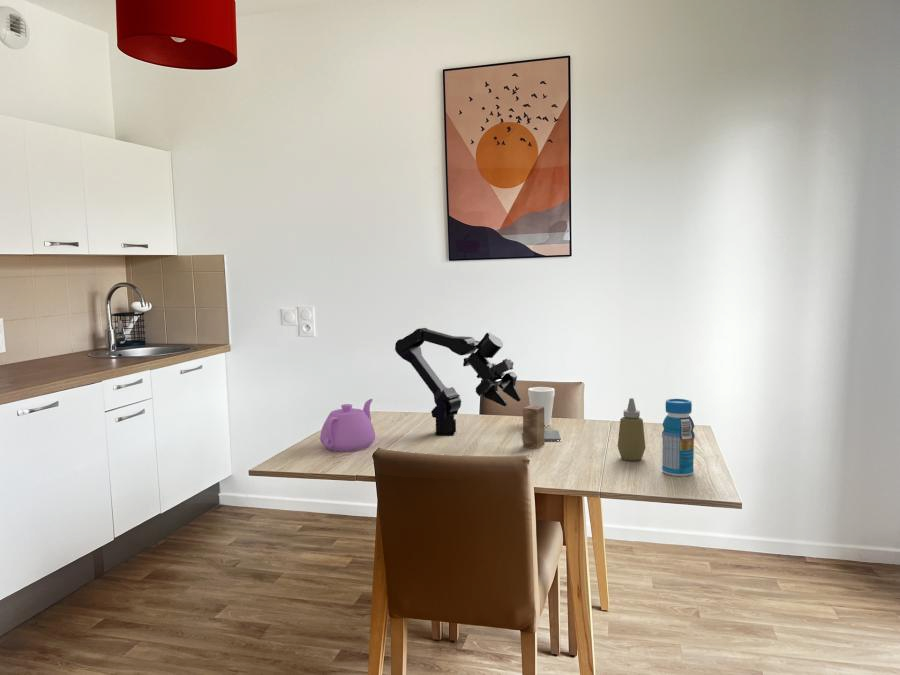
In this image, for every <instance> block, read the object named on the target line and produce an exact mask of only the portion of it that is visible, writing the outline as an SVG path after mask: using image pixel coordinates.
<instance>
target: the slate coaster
mask: <svg viewBox="0 0 900 675" xmlns="http://www.w3.org/2000/svg"><path fill="white" fill-rule="evenodd" d="M551 440H552V441H551ZM557 440H559V441H557ZM560 440H562V439H561V435H560V432H559V430H554V429H553V430H552V429H551V430H549V429H548V430H545V429H544V442H561V441H560Z"/></svg>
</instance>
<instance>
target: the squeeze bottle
mask: <svg viewBox="0 0 900 675" xmlns="http://www.w3.org/2000/svg"><path fill="white" fill-rule="evenodd" d="M636 407H637V406H636V403H635V398H633V397H632V398H629V399H628V405H627V409H624V410H623V417H621V418H620V420H619V427H618V428H619V429H618V438H617V449H618V453H619V456H620V458H621V459H622V460H625V461H630V462H631V461H632V462H633V461H634V462H636V461H641V460H642V459H643V456H644V454H645V451H646V441H645V440H646V439H645V429H644V419H643V418H641V417H640V414H641V412H640V410H638V409H636Z"/></svg>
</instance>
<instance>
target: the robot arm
mask: <svg viewBox="0 0 900 675" xmlns="http://www.w3.org/2000/svg"><path fill="white" fill-rule="evenodd" d="M425 342H428V343H431V344H434V345H438V346H441V347H444V348H447V349H449V350H450V351H451V352H453V353H455V354H456V355H457V356H466V355H468V357H464V358H463V364H462V366H463V367H468V366H470V367H471V368H472V369H473V370H474V372H475V373H476V374H477V375H476V378H477V379H481V380H482V381H481V382H480V383H479V384H478V385H477V386H476V387H475V393H476V394H477V396H478V397H482V398H485V399H488V400H489V401H492V402H494V403H496V404H499V405H500V406H503V407H506V406H508V405H507V402H506V399H504V397H503V396H502V394H501V393H500V391H499V389H498V388H500V389H501V391H502V392H504V393H505V394H506V395H507V396H509V397H510V398H512V399H513V400H515V401H516V402H520V401H521V400H522V399H521V396H520V394H519V392H518V389H517V386H516V382H517V381H518V380H517V378H518V375H517V374H516V372H514V371H512V370H513V369H514V367H513V366H514V361H512V359H510V358H507V357H506V358H505V359H503V360H502V361H501V362H499V363H492V362H491V361H490V360H489V359H493V358H494V357H495V355H497V354H498V352H499V351H500V350H502V348H503V347H504V342H503V340H502V339H501V338H500V337H498V336H496V335H495V334H493V333H492V332H491V331H490V332H486V333H485V334H484V335H483V338H482V339H480V341H479V340H476V339H475V338H474V337H472V336H456V335H455V336H454V335H451V334H446V333H443V332H440V331H435V330H432V329H429V328H427V327H420V328H416V329H415V330H414V331H413V332H411V333H409V334H407V335H406V336H405V337H403V338H399V339H398V340H397V341H396V342H395V344H394V345H395V347H394V351H395V352H396V354H397V355H398V356H399V357H400V358H401V359H403V360H404V361H406V362H408V363H410V364H411V366H412V368H413V369H414V370H415V371H416V373H417V375H418V376H419V377H420V378H421V379H422V381H423V382H424V384H425V385H426V386H427V388H428V389H429V390H430V391H431V393H432V394H433V400H434V404H435V405H436V406H434V408H432V410H431V411H430V412H431V413H430V414H431V416H432V418H435V433H434V435H436V436H454V435H455V433H456V432H457V419H456V418H455V415H458V412H459V409H460V408H461V406H462V399H461V395H460V394H459V393H458V392H457V390H456V389H455V387H453V386H452V387H447V386H445V385H444V383H443V382H442V380H441V379H440V377H438V375H437V374H436V372H435V371H434V370H433V368H432V367H431V366H430V365H429V363H428V361H427V360H426V358H424V356H423V354H422V349H421V346H422V345H423V344H424V343H425ZM510 370H511V371H510ZM508 371H510V372H508Z"/></svg>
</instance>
